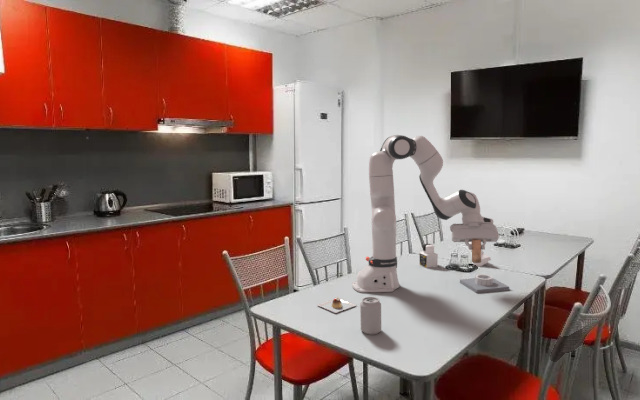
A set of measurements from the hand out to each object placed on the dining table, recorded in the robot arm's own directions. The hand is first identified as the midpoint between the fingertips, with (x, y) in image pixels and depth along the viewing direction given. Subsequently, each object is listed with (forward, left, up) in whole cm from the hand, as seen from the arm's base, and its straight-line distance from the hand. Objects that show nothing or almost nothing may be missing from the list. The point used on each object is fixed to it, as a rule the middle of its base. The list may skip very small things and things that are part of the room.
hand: (476, 249), depth 189 cm
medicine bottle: (-3, +42, -20) cm, 47 cm away
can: (-58, -29, -20) cm, 68 cm away
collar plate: (+7, +4, -19) cm, 21 cm away
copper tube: (0, +1, -6) cm, 6 cm away
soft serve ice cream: (+23, +39, -20) cm, 49 cm away
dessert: (-65, -2, -20) cm, 68 cm away
